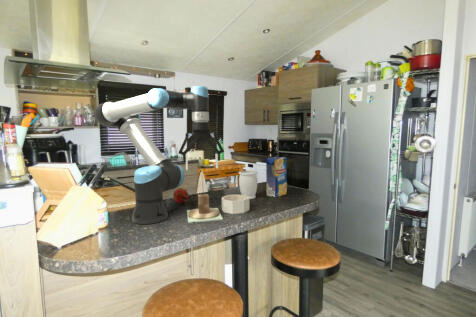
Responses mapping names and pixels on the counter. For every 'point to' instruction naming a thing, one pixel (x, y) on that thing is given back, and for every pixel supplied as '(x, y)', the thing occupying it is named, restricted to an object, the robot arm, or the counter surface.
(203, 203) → the lid
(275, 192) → the blue food box
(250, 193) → the jar
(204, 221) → the mat
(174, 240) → the counter surface
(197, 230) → the counter surface
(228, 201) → the bowl
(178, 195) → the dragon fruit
